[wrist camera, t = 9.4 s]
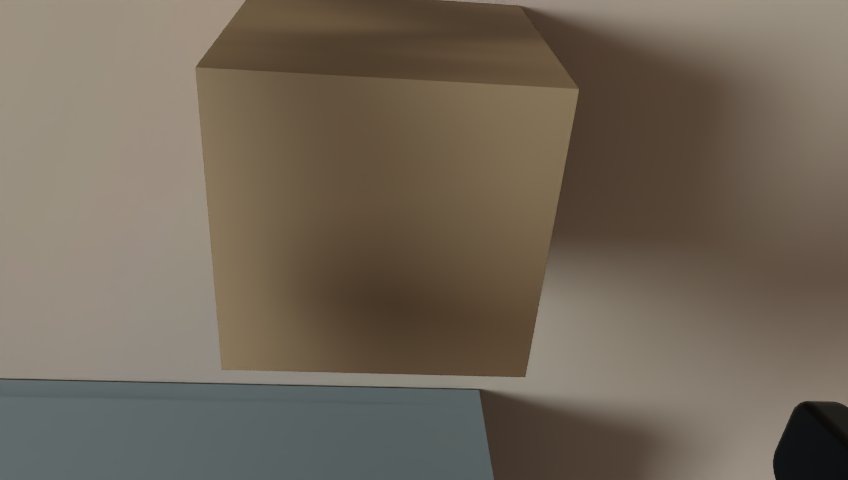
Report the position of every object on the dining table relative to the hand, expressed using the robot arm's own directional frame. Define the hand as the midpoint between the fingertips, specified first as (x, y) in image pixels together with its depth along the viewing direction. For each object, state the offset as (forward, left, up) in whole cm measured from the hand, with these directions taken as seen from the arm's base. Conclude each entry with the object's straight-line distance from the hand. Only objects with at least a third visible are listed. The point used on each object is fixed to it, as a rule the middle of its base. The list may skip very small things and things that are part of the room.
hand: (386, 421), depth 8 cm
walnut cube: (0, 0, -9) cm, 9 cm away
